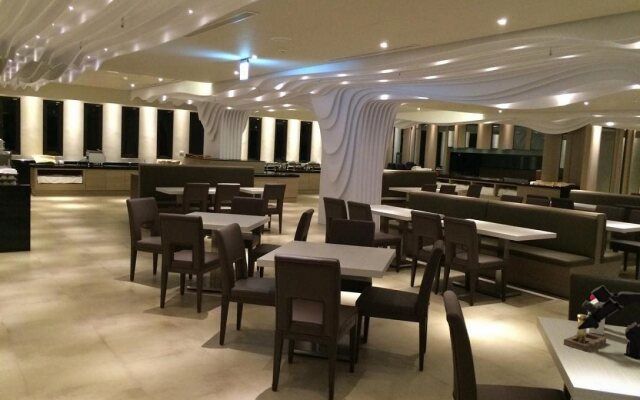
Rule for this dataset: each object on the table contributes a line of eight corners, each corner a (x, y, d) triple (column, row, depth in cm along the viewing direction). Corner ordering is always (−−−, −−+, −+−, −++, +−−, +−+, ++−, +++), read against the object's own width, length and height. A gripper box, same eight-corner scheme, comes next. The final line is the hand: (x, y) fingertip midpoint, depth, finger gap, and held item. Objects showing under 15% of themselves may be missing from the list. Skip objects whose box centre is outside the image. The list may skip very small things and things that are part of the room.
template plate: (584, 336, 282) (584, 331, 282) (605, 343, 273) (606, 338, 273) (563, 344, 268) (564, 339, 268) (586, 351, 259) (586, 346, 259)
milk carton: (588, 333, 288) (592, 298, 287) (586, 329, 295) (589, 295, 293) (603, 335, 286) (607, 300, 285) (600, 331, 293) (604, 296, 291)
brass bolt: (588, 343, 266) (590, 316, 265) (580, 344, 264) (583, 317, 262) (579, 340, 270) (582, 313, 269) (572, 341, 268) (575, 314, 267)
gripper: (594, 292, 271) (568, 309, 277) (593, 300, 255) (565, 318, 261) (610, 310, 268) (583, 327, 274) (610, 319, 252) (582, 338, 258)
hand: (578, 327), depth 267 cm, fingers closed on brass bolt, 4 cm apart
